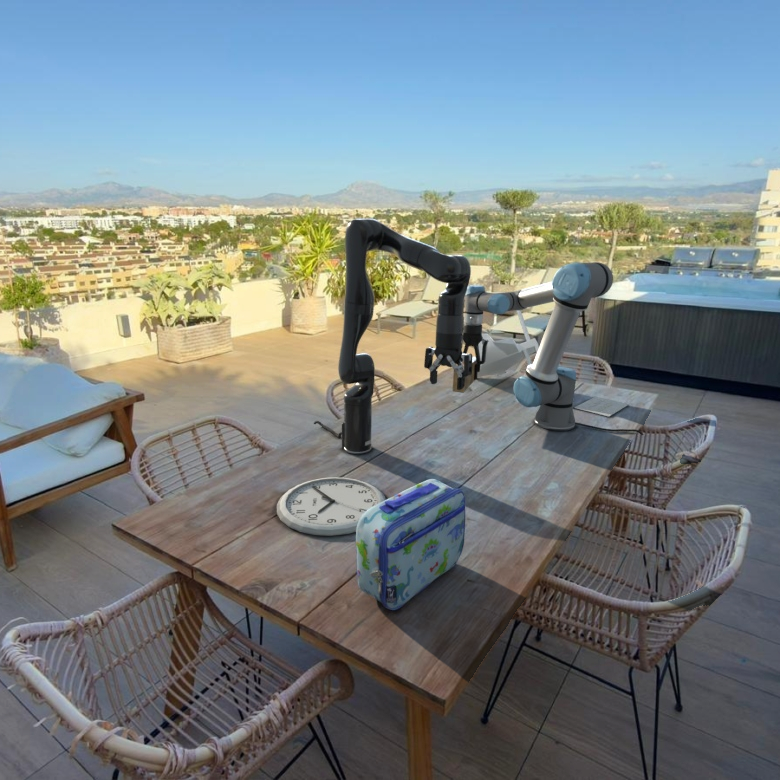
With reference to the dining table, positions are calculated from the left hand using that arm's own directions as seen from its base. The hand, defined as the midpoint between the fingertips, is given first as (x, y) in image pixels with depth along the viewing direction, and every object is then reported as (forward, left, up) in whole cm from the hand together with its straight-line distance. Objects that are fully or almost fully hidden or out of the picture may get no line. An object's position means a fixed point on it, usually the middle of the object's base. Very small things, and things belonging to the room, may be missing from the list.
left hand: (446, 386), depth 149 cm
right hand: (-21, +70, -18) cm, 75 cm away
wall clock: (-19, -29, -30) cm, 46 cm away
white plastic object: (-19, +110, -30) cm, 116 cm away
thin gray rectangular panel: (+28, +100, -30) cm, 109 cm away
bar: (-20, +62, -18) cm, 68 cm away
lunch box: (+15, -46, -30) cm, 57 cm away
